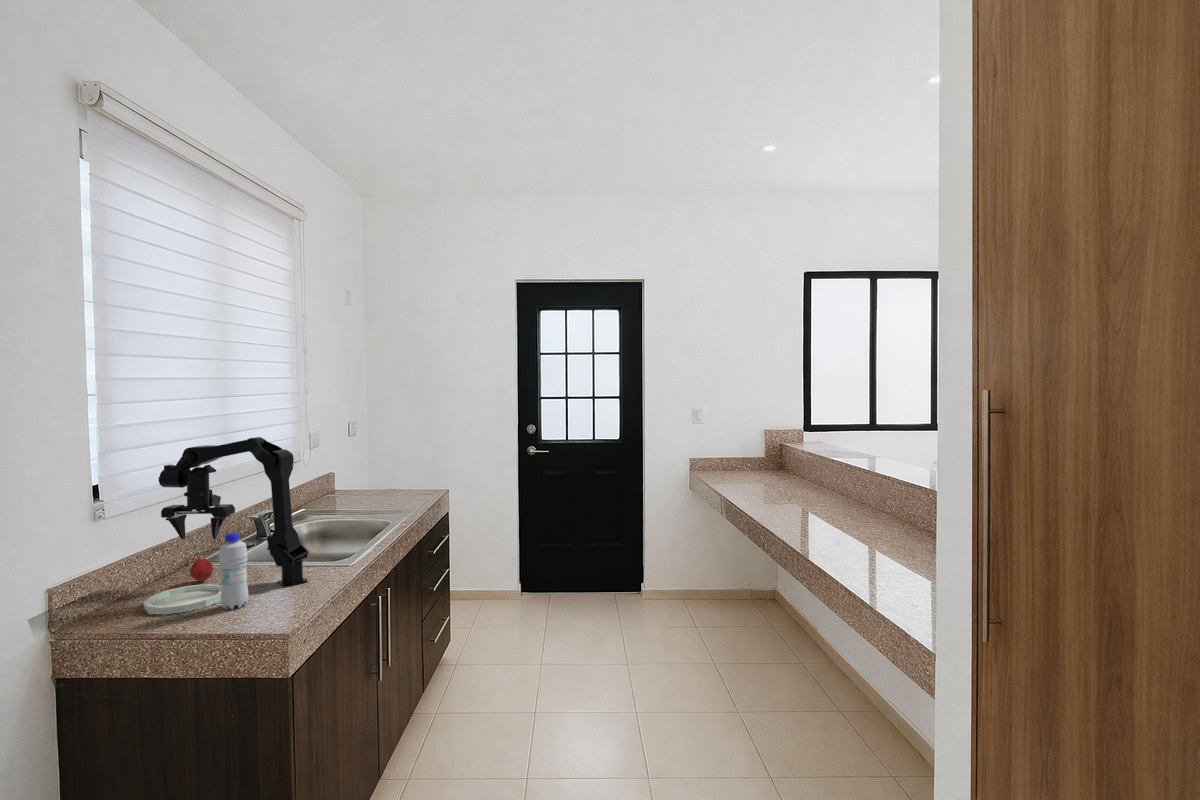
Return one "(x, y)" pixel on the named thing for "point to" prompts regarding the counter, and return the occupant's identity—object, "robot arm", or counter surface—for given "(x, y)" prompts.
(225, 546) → the bottle
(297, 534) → the robot arm
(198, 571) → the onion
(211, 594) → the plate
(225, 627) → the counter surface
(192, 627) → the counter surface
